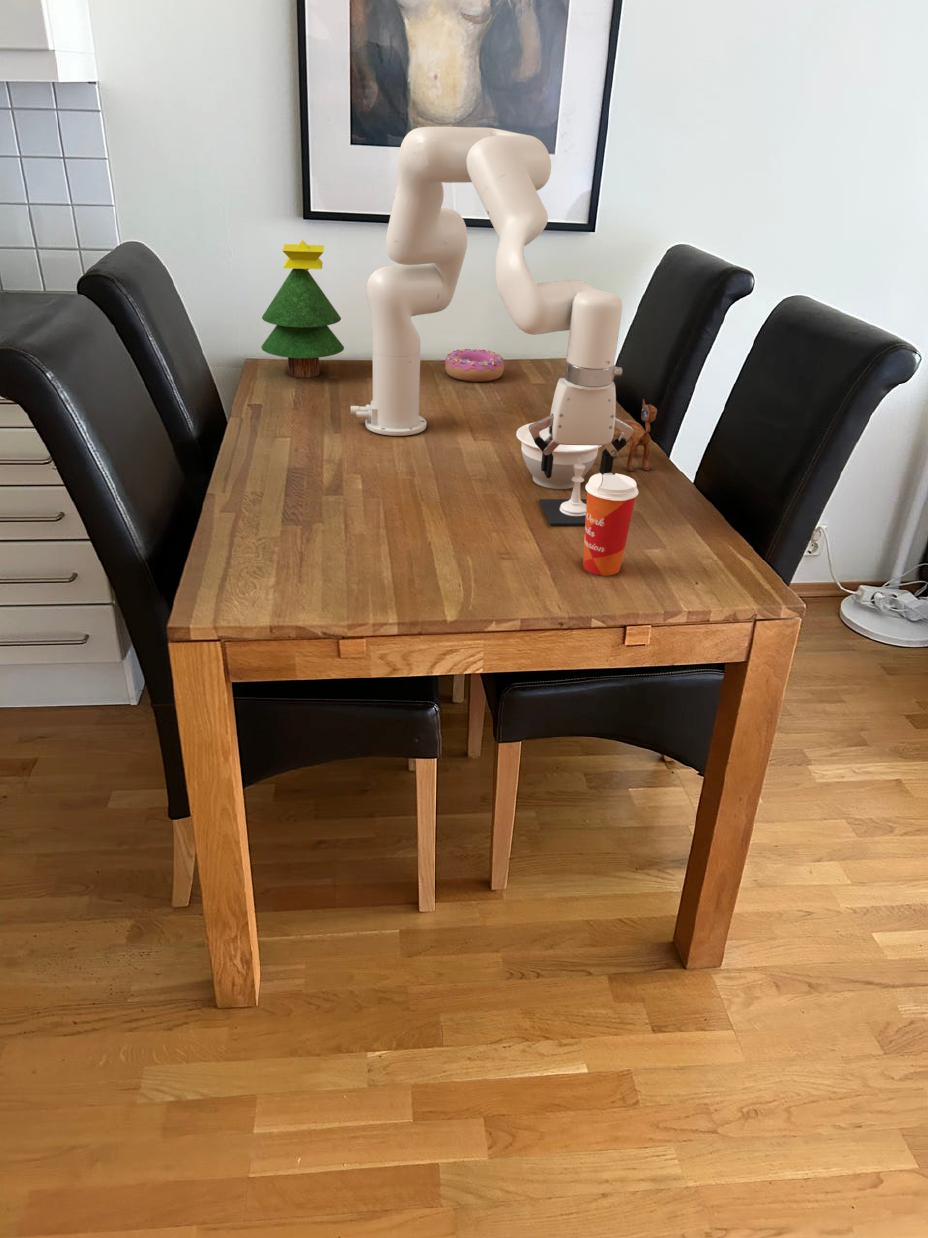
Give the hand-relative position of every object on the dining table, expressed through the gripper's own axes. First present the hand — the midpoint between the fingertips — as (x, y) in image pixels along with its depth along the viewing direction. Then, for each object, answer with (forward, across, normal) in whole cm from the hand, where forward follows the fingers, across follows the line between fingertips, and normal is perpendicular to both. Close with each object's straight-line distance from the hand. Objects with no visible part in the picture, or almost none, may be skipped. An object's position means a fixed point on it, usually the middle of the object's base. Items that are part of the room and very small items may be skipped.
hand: (575, 475), depth 156 cm
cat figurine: (+7, -16, -25) cm, 31 cm away
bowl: (+7, 0, -14) cm, 16 cm away
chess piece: (+6, 0, 0) cm, 6 cm away
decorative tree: (+9, +48, -81) cm, 95 cm away
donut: (+8, +7, -81) cm, 82 cm away
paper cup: (+6, 0, +21) cm, 22 cm away
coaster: (+7, 0, +1) cm, 7 cm away
